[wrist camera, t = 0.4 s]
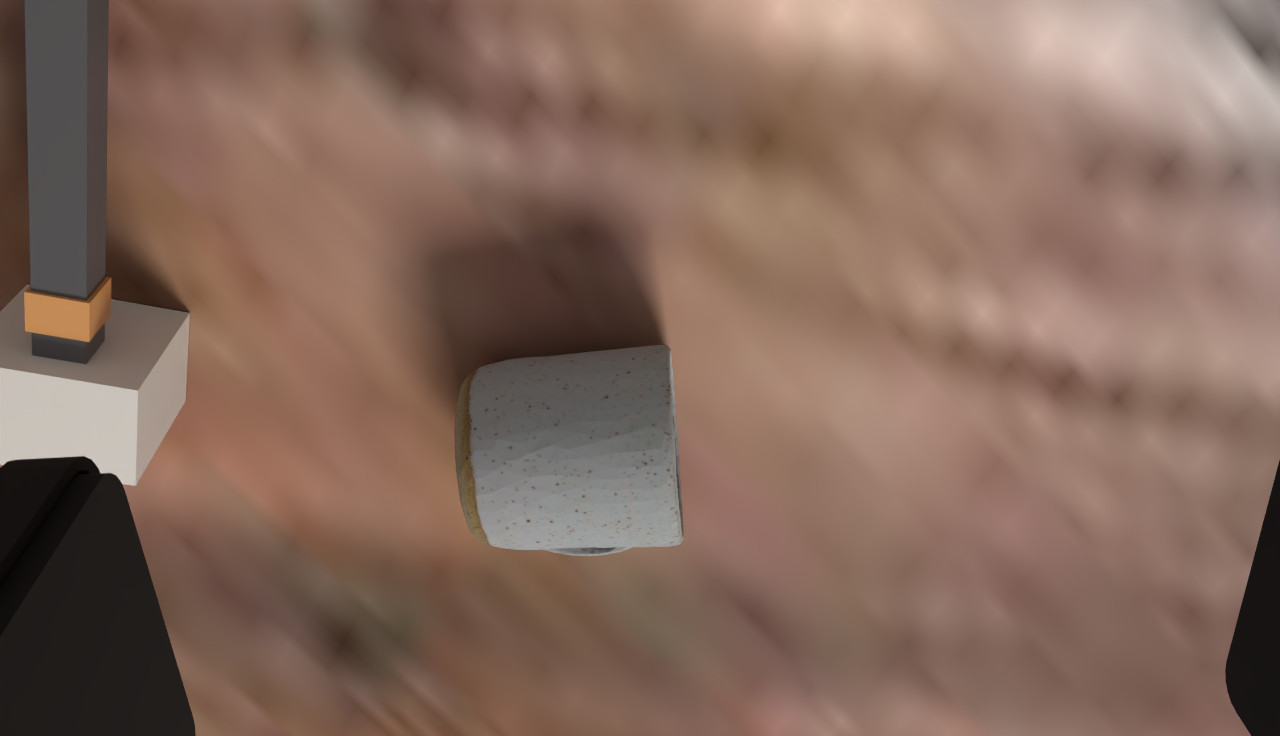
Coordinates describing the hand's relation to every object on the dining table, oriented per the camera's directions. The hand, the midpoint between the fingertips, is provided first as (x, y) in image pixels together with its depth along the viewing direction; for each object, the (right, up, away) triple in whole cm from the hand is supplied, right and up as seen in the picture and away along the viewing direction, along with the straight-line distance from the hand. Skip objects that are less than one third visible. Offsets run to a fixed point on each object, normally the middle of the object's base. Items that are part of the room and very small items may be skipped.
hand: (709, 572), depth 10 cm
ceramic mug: (-3, -1, +40) cm, 40 cm away
